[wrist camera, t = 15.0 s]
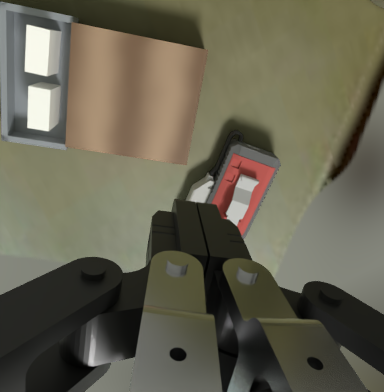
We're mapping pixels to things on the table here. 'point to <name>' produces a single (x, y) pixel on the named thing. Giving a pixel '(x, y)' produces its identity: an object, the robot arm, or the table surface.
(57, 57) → the tile
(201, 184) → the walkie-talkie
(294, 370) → the robot arm
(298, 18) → the table surface
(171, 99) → the tan flat block
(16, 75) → the box
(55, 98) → the tile
